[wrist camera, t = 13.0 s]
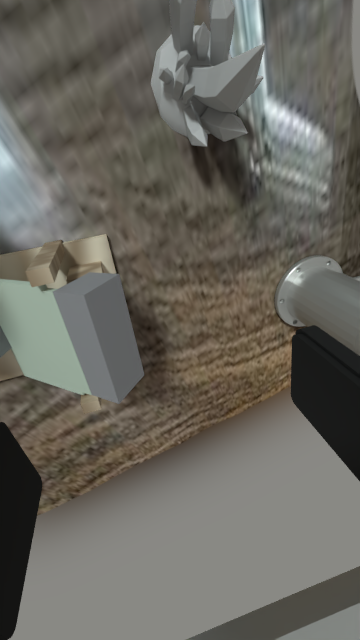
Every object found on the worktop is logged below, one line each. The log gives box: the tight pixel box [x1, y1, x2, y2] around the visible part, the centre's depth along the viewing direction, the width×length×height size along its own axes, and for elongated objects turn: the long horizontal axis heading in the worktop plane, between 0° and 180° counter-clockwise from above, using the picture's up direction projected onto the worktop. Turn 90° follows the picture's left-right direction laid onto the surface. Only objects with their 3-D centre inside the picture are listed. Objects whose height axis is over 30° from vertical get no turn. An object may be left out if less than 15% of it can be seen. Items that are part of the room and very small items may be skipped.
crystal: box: [151, 0, 265, 147], centre depth 26 cm, size 10×13×15 cm
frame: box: [0, 234, 116, 414], centre depth 34 cm, size 23×18×12 cm
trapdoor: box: [0, 272, 144, 404], centre depth 34 cm, size 16×14×5 cm
